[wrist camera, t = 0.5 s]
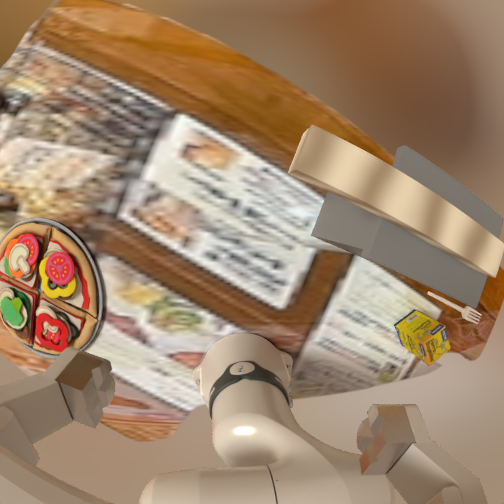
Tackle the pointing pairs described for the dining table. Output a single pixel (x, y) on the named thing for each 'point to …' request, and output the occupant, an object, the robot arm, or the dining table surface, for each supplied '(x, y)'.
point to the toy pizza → (48, 288)
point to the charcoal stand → (403, 242)
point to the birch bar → (394, 198)
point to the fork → (458, 308)
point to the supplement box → (423, 336)
